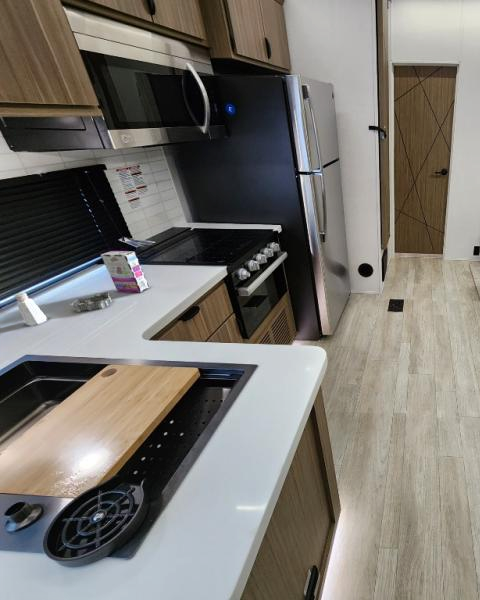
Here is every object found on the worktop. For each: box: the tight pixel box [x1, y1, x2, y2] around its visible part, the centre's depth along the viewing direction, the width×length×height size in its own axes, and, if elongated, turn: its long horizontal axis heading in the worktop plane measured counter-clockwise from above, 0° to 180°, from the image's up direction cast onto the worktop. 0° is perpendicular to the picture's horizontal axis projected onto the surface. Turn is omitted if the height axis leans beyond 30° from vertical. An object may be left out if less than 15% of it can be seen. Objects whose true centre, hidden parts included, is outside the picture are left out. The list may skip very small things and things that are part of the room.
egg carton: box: [69, 291, 113, 313], centre depth 126 cm, size 11×8×4 cm
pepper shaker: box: [14, 292, 48, 326], centre depth 114 cm, size 5×5×11 cm
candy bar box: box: [100, 250, 150, 293], centre depth 135 cm, size 11×5×16 cm, turn 83°
